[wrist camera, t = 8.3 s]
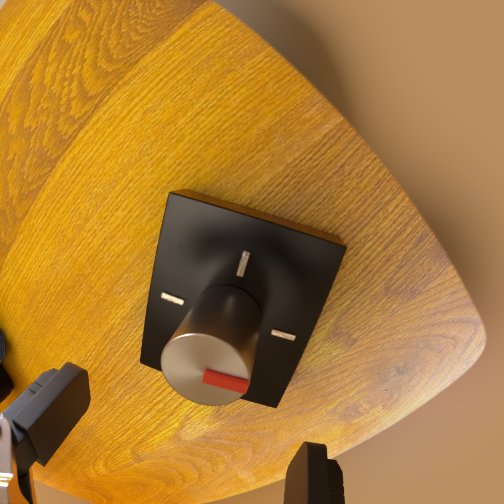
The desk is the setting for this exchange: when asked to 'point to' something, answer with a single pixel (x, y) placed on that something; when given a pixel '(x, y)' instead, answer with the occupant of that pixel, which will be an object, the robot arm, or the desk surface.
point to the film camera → (4, 372)
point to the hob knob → (214, 347)
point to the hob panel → (241, 280)
